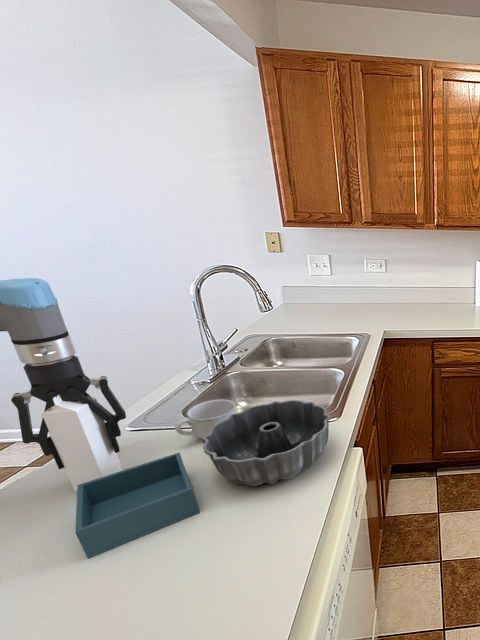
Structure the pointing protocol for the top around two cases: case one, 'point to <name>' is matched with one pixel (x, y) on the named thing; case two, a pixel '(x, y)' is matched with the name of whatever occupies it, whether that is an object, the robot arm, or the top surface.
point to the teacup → (206, 417)
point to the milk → (81, 441)
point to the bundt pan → (268, 441)
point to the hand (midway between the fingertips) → (90, 457)
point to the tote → (133, 504)
